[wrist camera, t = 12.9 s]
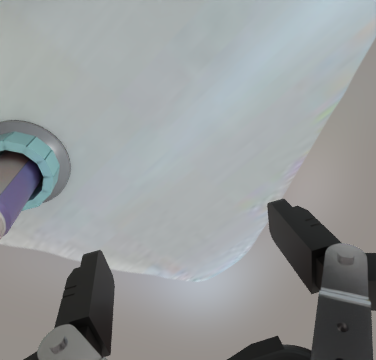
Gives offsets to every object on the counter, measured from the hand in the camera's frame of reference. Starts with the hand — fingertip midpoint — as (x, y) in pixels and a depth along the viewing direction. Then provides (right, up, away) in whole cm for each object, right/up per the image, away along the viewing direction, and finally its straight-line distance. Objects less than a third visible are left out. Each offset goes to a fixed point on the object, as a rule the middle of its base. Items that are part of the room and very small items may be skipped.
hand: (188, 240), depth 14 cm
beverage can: (-24, +5, +28) cm, 37 cm away
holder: (-24, +5, +29) cm, 38 cm away
